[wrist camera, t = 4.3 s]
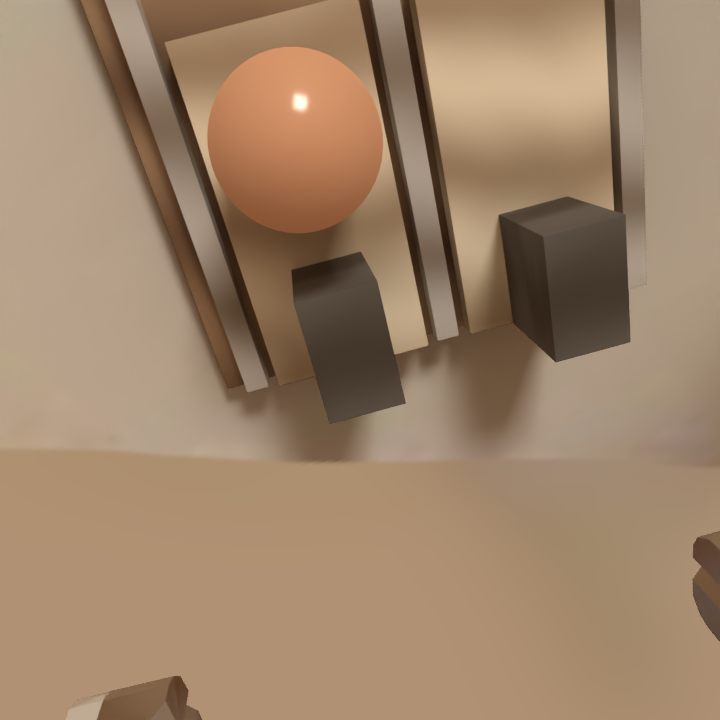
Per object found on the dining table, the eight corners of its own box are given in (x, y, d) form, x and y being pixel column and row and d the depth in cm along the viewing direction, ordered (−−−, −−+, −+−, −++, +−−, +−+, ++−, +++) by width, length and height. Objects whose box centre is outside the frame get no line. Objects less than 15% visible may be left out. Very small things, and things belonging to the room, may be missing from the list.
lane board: (-20, -287, 18) (-54, -331, 16) (593, -437, 18) (628, -497, 17) (229, 379, 28) (226, 398, 26) (623, 273, 28) (646, 284, 27)
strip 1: (169, 45, 21) (135, 26, 16) (353, -3, 21) (376, -37, 16) (279, 376, 27) (279, 437, 22) (423, 337, 27) (455, 389, 22)
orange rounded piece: (206, 81, 21) (180, 72, 15) (339, 46, 21) (361, 26, 16) (249, 217, 23) (240, 251, 18) (370, 185, 23) (398, 209, 18)
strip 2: (406, -17, 21) (444, -54, 16) (587, -64, 21) (680, -115, 16) (464, 326, 27) (506, 376, 22) (606, 287, 27) (679, 328, 22)
